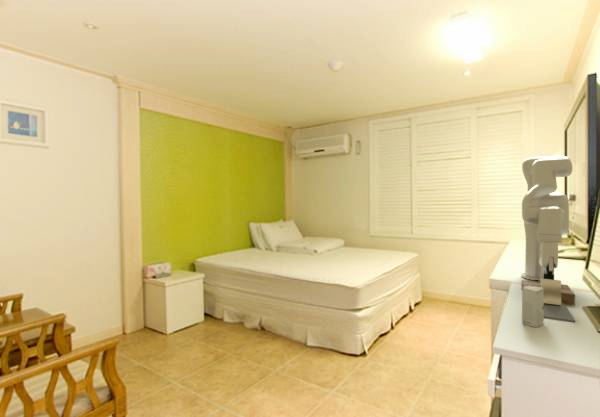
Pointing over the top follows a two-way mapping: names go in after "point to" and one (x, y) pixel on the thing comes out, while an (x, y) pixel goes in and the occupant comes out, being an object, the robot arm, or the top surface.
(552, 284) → the beige rectangular block
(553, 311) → the mat
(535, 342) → the top surface
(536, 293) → the skincare box
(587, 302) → the top surface
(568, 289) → the step
